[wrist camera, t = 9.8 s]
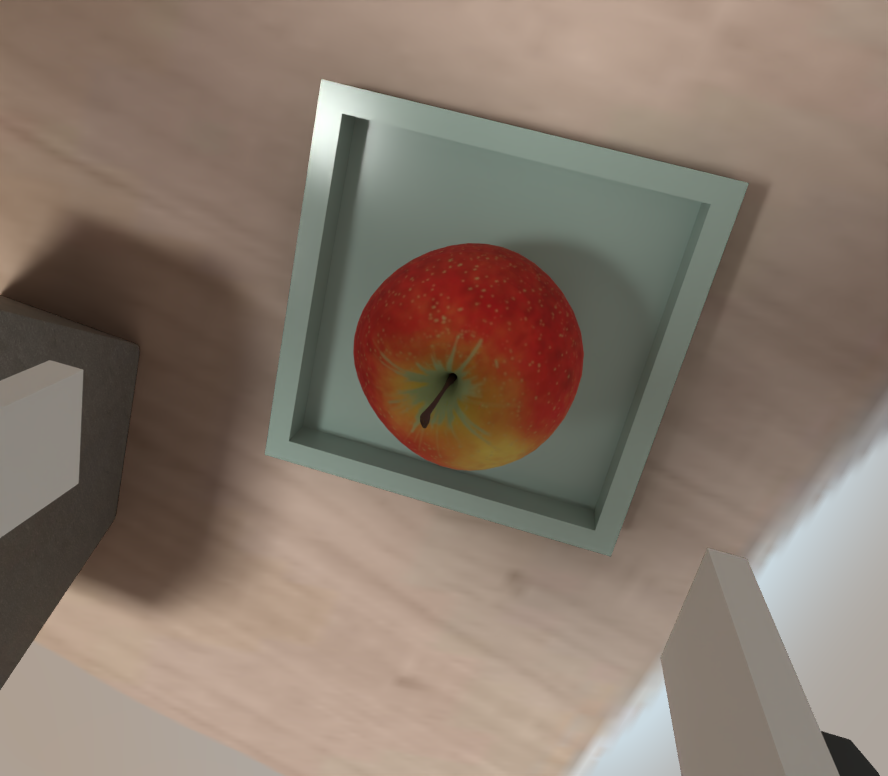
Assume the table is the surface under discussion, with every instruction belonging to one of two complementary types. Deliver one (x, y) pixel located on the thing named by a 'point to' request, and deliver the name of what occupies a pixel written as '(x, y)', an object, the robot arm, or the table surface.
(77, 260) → the table surface
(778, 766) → the robot arm
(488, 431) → the apple
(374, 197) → the dish
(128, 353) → the grey hexagonal block
